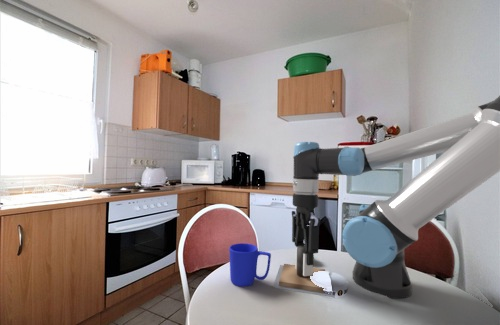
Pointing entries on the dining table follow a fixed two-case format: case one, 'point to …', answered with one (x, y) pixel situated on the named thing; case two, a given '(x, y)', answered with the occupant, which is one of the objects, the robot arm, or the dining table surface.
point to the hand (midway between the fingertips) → (303, 271)
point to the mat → (276, 285)
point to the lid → (298, 275)
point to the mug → (245, 264)
